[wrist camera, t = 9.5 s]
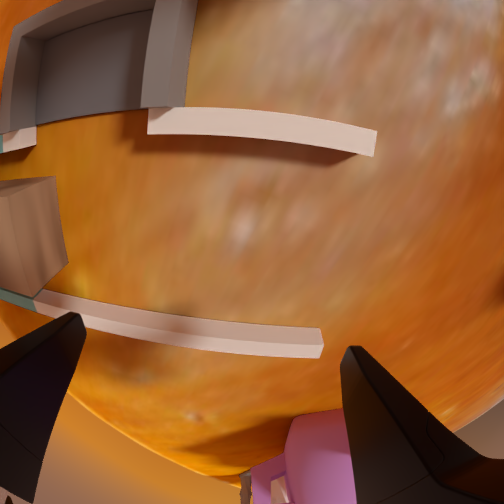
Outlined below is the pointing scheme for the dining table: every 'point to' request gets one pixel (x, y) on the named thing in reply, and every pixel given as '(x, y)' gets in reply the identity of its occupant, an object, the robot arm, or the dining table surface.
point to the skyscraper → (276, 489)
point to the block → (30, 234)
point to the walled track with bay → (159, 122)
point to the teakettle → (310, 463)
